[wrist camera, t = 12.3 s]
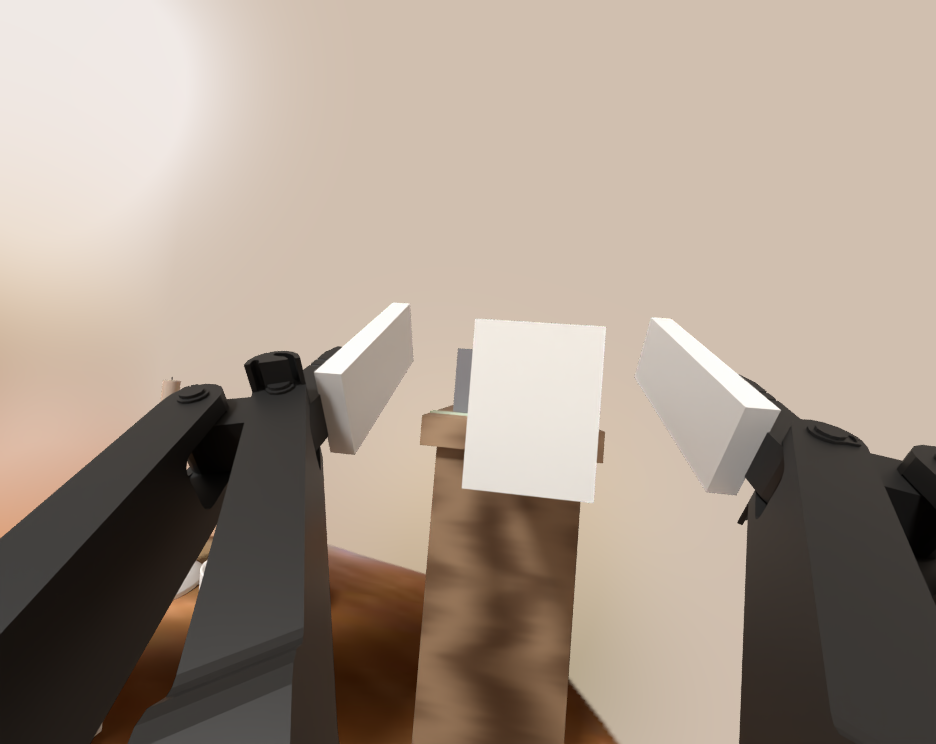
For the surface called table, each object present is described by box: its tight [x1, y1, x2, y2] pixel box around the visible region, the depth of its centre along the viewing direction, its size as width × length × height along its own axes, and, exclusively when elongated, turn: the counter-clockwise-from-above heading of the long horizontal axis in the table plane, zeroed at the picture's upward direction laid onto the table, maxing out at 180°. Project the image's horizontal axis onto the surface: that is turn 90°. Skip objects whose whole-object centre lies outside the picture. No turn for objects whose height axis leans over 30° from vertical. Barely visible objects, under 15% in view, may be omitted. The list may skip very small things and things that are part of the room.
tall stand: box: [412, 405, 605, 744], centre depth 29 cm, size 12×14×30 cm
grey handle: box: [453, 319, 606, 503], centre depth 21 cm, size 9×27×5 cm, turn 174°
